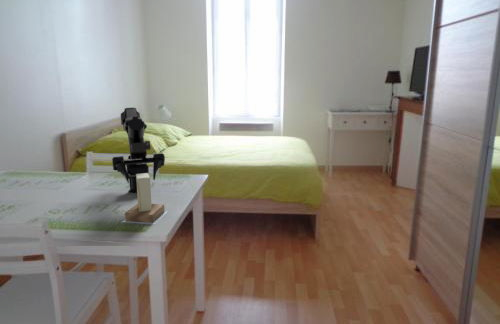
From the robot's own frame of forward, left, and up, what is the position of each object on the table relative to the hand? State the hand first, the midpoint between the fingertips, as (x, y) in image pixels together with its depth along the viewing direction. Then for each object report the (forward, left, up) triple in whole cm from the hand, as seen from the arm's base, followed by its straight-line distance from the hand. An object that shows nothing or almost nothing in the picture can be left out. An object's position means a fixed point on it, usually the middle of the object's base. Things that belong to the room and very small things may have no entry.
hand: (141, 181), depth 135 cm
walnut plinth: (+4, -7, -11) cm, 13 cm away
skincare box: (+4, -7, -8) cm, 11 cm away
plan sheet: (+4, -7, -11) cm, 14 cm away
